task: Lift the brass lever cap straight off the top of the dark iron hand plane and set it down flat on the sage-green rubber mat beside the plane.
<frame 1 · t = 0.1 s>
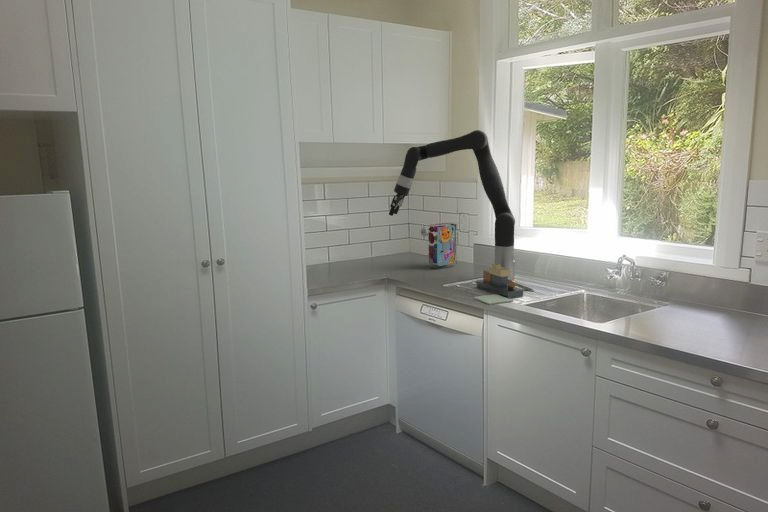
hand: (392, 214, 286), 31 cm above the worktop, tool tilted 20°, fingers open, 8 cm apart
lever cap: (499, 274, 250), point 8 cm above the worktop, touching hand plane
mat: (493, 299, 237), on the worktop
hand plane: (499, 291, 251), on the worktop
caliper: (514, 289, 259), on the worktop
box: (437, 268, 306), on the worktop
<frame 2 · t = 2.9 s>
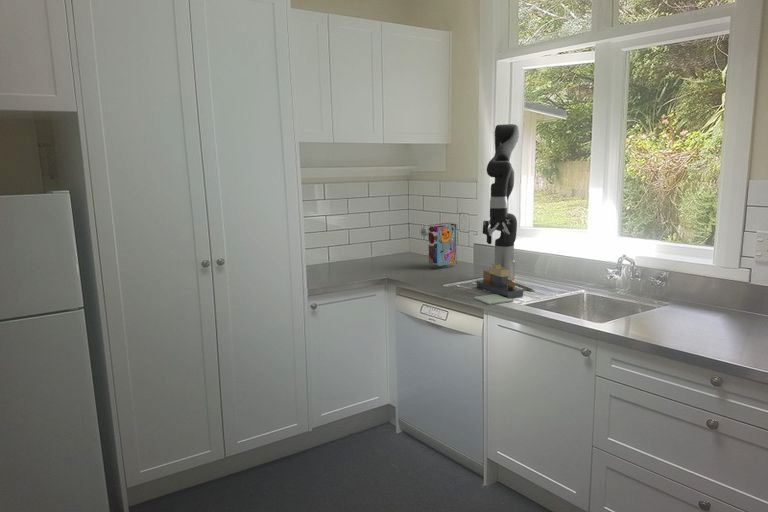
hand: (497, 243, 247), 22 cm above the worktop, tool pointing down, fingers open, 8 cm apart
nothing on the worktop moved.
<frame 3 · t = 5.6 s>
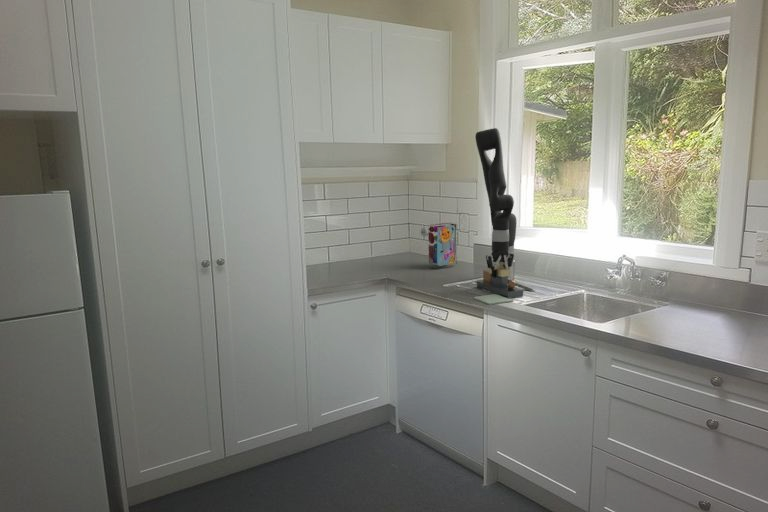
hand: (499, 276, 250), 7 cm above the worktop, tool pointing down, fingers closed on lever cap, 5 cm apart
lever cap: (499, 274, 250), point 8 cm above the worktop, touching gripper, hand plane
everything else where it was.
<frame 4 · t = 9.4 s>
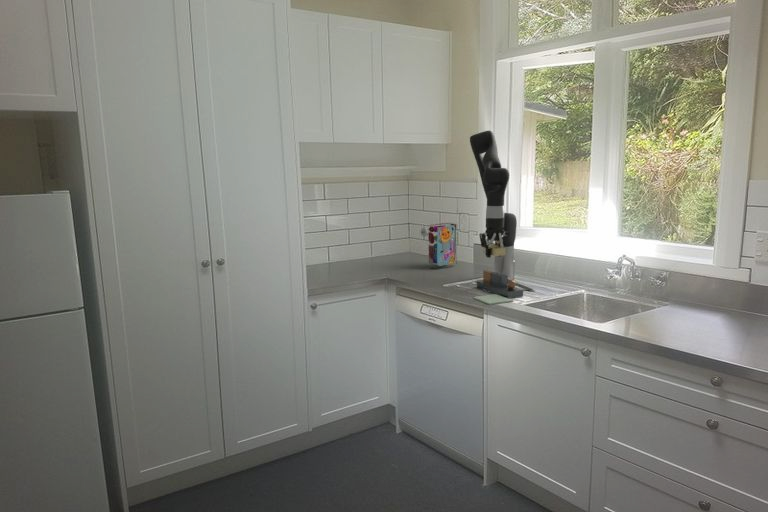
hand: (493, 256, 234), 19 cm above the worktop, tool pointing down, fingers closed on lever cap, 5 cm apart
lever cap: (494, 253, 234), point 20 cm above the worktop, touching gripper
everything else where it was.
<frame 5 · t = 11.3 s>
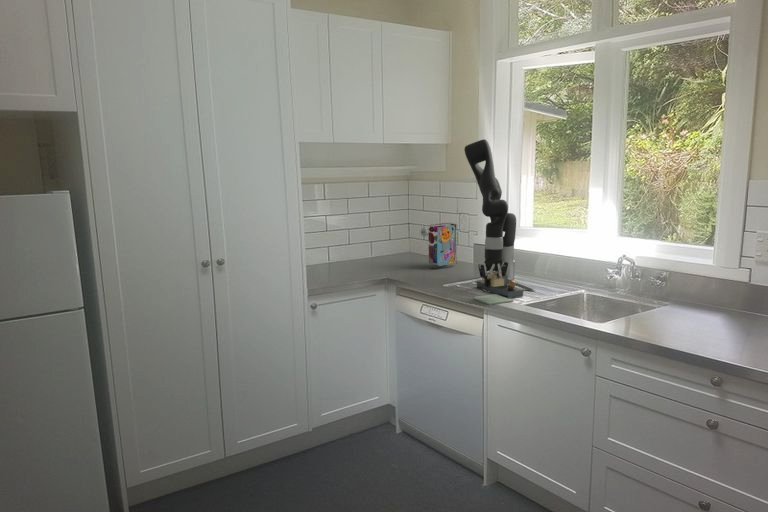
hand: (492, 286, 236), 6 cm above the worktop, tool pointing down, fingers closed on lever cap, 5 cm apart
lever cap: (492, 284, 236), point 7 cm above the worktop, touching gripper
everything else where it was.
when the fingers open (2 cm above the worktop, at t = 13.2 s): lever cap drops 2 cm, resting on mat.
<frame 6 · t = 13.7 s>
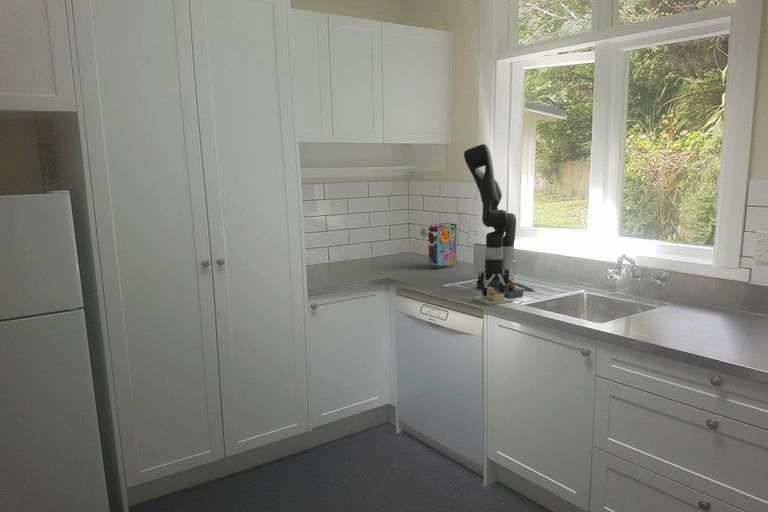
hand: (493, 294, 237), 2 cm above the worktop, tool pointing down, fingers open, 8 cm apart
lever cap: (492, 298, 237), point 1 cm above the worktop, touching mat
everything else where it was.
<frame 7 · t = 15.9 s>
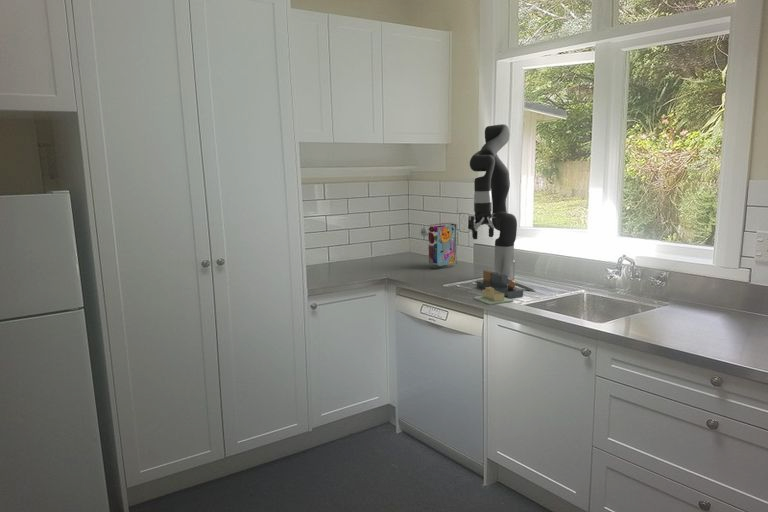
hand: (483, 238, 245), 25 cm above the worktop, tool pointing down, fingers open, 8 cm apart
nothing on the worktop moved.
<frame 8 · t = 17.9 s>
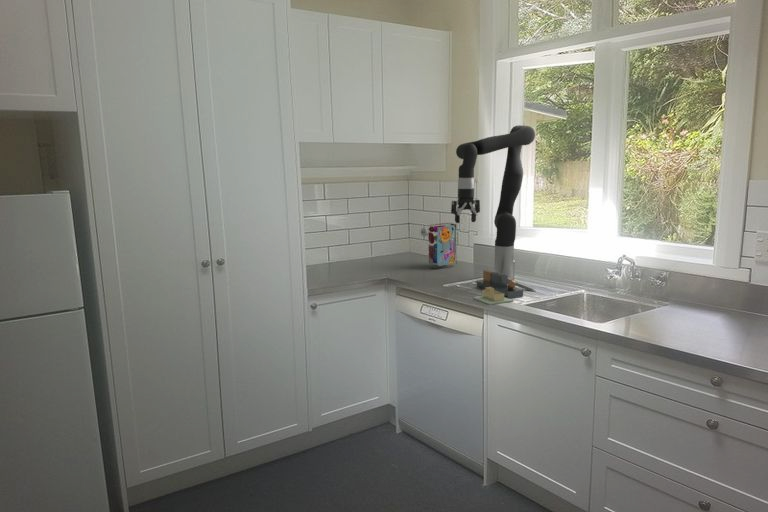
hand: (465, 222, 260), 30 cm above the worktop, tool pointing down, fingers open, 8 cm apart
nothing on the worktop moved.
at the end: lever cap inside the target area on the mat (0.0 cm from its centre), point 0.6 cm above the mat's base; lever cap tilted 0°; the gripper is holding nothing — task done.
